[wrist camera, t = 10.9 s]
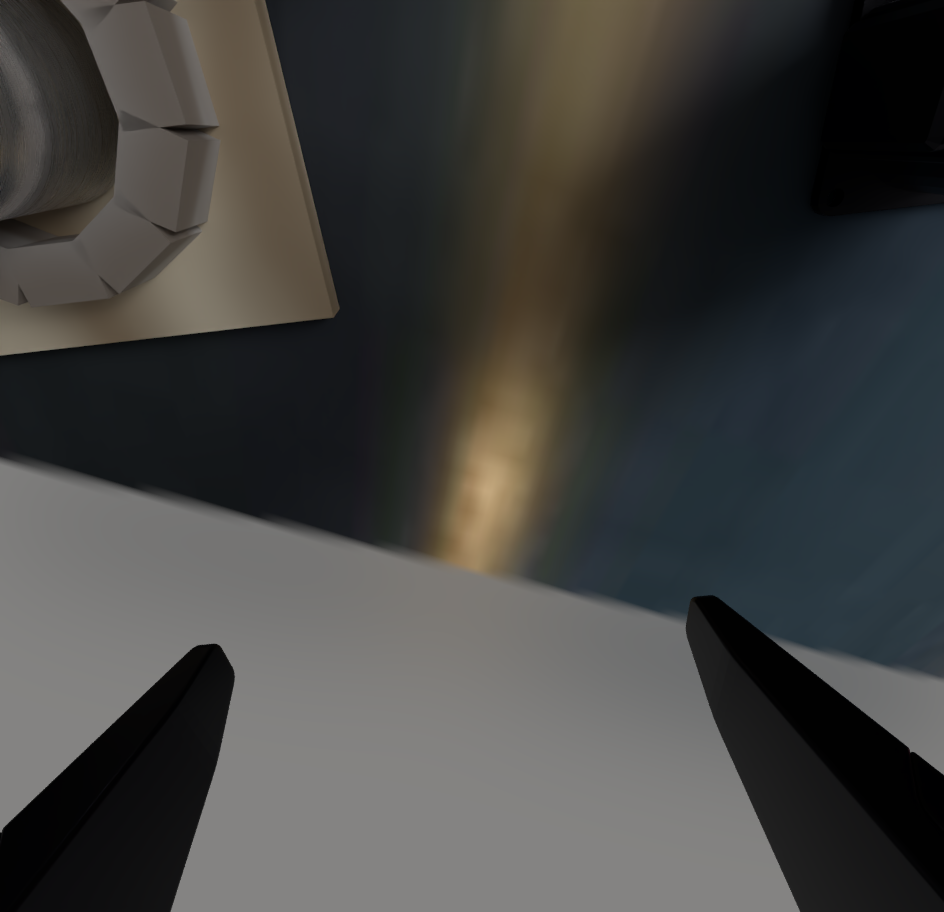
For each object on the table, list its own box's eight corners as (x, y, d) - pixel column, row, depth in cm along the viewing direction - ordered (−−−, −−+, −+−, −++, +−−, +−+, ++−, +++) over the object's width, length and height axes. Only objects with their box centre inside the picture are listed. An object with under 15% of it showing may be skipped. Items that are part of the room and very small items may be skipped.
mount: (185, -324, 10) (100, -474, 8) (339, 308, 17) (319, 337, 15) (-415, -233, 11) (-683, -349, 8) (-31, 351, 18) (-112, 386, 15)
